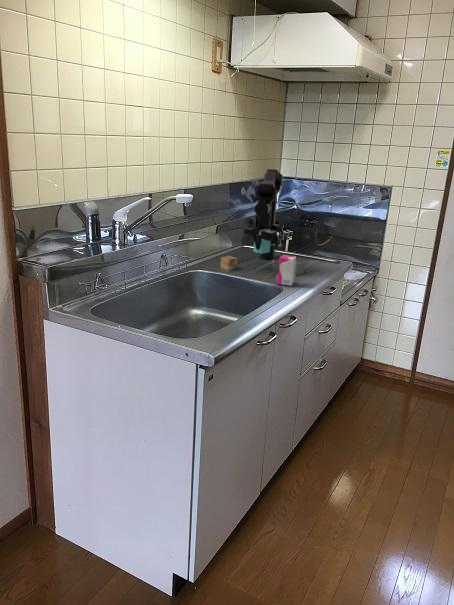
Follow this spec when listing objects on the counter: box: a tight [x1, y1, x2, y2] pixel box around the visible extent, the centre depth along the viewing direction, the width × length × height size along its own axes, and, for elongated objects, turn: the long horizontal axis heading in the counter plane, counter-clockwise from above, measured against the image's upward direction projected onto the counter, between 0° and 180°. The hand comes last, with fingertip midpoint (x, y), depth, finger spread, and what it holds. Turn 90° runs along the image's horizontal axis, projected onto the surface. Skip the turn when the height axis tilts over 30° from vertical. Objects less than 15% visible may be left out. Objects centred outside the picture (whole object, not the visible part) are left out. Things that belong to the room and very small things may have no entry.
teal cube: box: [253, 239, 270, 255], centre depth 217 cm, size 5×5×5 cm
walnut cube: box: [220, 255, 238, 271], centre depth 220 cm, size 5×5×5 cm
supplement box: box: [277, 254, 297, 288], centre depth 200 cm, size 6×6×12 cm
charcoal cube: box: [295, 260, 305, 276], centre depth 218 cm, size 5×5×5 cm
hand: (261, 248), depth 217 cm, fingers closed on teal cube, 5 cm apart
